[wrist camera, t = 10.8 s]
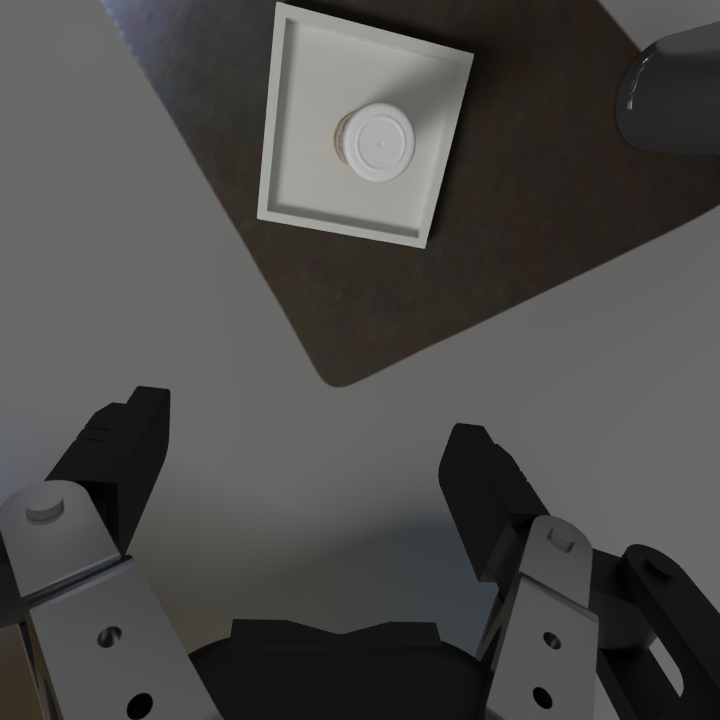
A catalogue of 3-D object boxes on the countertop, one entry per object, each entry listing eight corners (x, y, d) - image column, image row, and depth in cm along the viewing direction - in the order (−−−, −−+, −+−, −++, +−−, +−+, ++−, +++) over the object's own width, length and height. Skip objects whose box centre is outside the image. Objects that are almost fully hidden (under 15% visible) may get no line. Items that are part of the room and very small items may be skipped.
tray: (467, 57, 38) (474, 54, 36) (420, 244, 44) (424, 248, 43) (277, 7, 35) (276, 1, 33) (258, 215, 42) (256, 218, 40)
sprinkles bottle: (325, 122, 38) (333, 116, 26) (375, 103, 38) (406, 89, 26) (343, 176, 40) (358, 193, 28) (390, 158, 40) (425, 168, 28)
